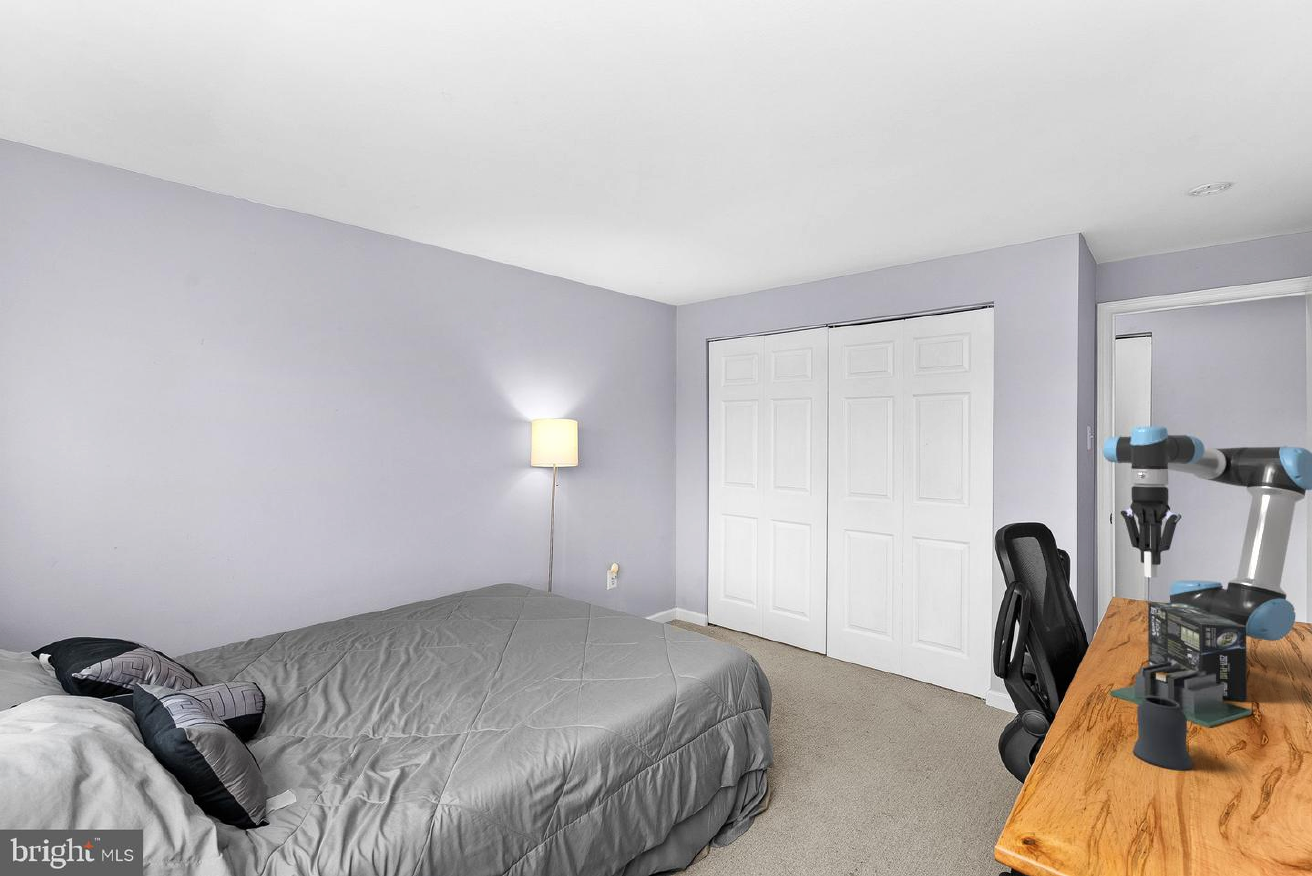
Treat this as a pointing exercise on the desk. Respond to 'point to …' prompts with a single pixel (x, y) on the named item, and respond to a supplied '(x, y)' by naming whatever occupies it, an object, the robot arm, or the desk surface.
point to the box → (1199, 644)
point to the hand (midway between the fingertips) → (1150, 576)
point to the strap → (1172, 674)
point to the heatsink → (1184, 694)
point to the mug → (1162, 734)
